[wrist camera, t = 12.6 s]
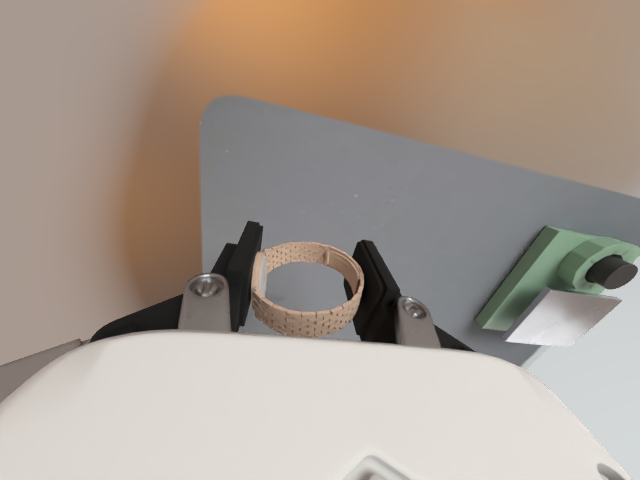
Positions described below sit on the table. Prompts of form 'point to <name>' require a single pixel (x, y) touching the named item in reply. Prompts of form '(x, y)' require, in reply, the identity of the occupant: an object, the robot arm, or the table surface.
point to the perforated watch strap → (291, 319)
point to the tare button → (611, 272)
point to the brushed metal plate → (559, 317)
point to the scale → (551, 272)
